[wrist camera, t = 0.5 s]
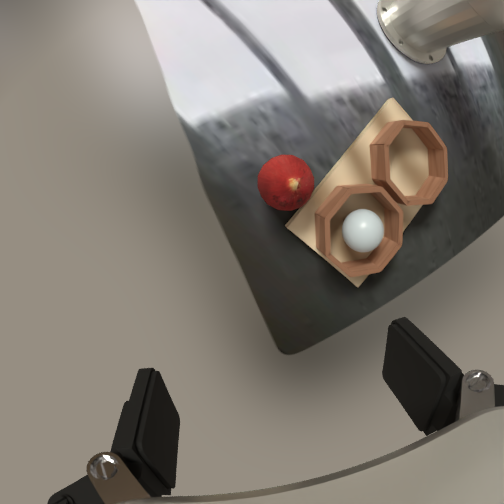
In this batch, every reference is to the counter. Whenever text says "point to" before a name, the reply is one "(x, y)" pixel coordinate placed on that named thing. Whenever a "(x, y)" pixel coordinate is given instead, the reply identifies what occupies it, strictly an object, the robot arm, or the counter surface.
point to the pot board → (360, 173)
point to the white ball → (362, 230)
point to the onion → (285, 182)
